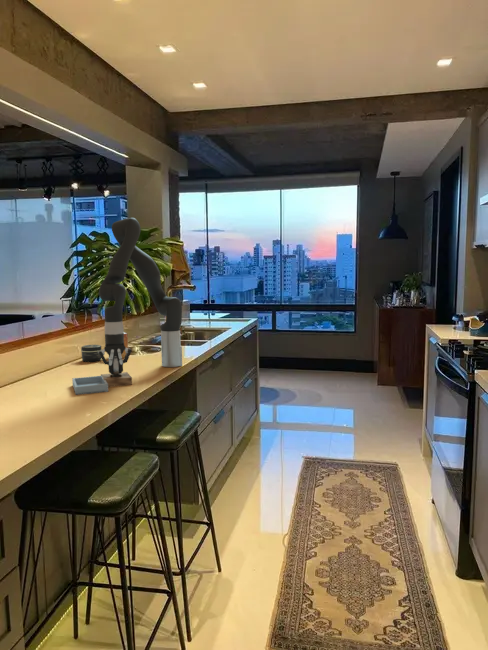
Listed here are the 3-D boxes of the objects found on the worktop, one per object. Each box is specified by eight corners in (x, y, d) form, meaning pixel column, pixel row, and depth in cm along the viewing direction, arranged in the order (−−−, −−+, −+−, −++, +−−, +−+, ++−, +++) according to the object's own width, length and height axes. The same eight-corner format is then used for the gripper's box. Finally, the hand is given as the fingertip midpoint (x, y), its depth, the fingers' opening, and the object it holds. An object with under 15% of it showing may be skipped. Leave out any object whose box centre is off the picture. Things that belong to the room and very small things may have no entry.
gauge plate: (127, 378, 216) (127, 372, 215) (131, 384, 205) (131, 377, 205) (101, 381, 211) (100, 374, 211) (104, 387, 201) (104, 380, 201)
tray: (103, 382, 209) (102, 375, 209) (108, 391, 195) (107, 384, 194) (72, 385, 205) (72, 378, 204) (75, 394, 190) (75, 387, 190)
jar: (106, 359, 260) (105, 344, 259) (94, 363, 251) (93, 347, 250) (89, 358, 264) (89, 343, 263) (77, 361, 254) (76, 347, 253)
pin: (119, 379, 210) (118, 356, 209) (120, 381, 208) (119, 357, 206) (112, 380, 209) (111, 356, 208) (113, 381, 206) (112, 357, 205)
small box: (113, 359, 260) (112, 334, 258) (109, 357, 265) (108, 333, 263) (128, 357, 264) (127, 333, 262) (124, 355, 269) (123, 331, 268)
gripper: (129, 330, 212) (131, 370, 214) (95, 332, 207) (97, 373, 209) (133, 332, 205) (134, 373, 207) (97, 334, 200) (99, 377, 202)
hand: (115, 373), depth 208 cm, fingers closed on pin, 3 cm apart
